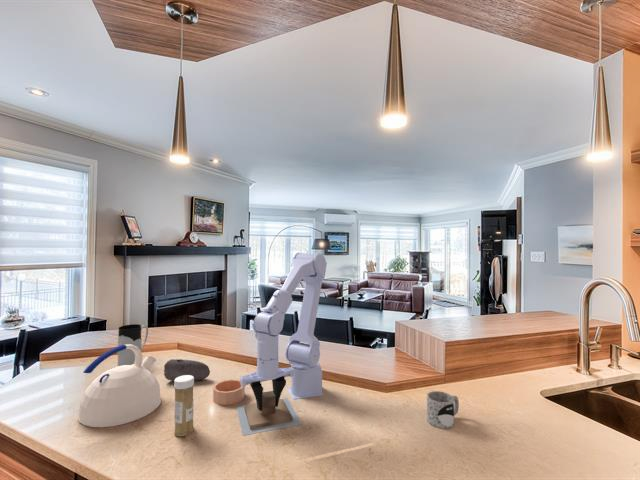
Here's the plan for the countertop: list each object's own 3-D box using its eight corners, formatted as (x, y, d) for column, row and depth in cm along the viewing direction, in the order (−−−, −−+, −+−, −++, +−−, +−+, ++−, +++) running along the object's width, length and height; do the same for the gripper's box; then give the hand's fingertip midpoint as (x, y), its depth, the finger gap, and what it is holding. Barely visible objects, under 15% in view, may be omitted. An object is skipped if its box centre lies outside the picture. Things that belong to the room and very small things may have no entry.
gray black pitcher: (110, 369, 122) (110, 329, 122) (137, 356, 136) (138, 320, 136) (131, 371, 121) (131, 330, 121) (156, 357, 135) (157, 321, 135)
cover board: (282, 402, 96) (282, 383, 96) (292, 421, 86) (292, 400, 86) (244, 408, 92) (244, 389, 92) (250, 429, 82) (250, 407, 82)
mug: (441, 431, 82) (441, 405, 82) (421, 419, 88) (421, 394, 88) (468, 421, 87) (468, 396, 87) (448, 410, 93) (448, 386, 93)
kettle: (177, 399, 99) (178, 339, 99) (108, 436, 80) (109, 362, 80) (132, 387, 107) (133, 331, 108) (60, 417, 89) (61, 350, 89)
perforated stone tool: (212, 377, 115) (212, 357, 115) (207, 383, 110) (207, 362, 110) (169, 377, 115) (169, 357, 115) (162, 383, 110) (162, 362, 110)
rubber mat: (287, 399, 99) (287, 398, 99) (302, 425, 85) (302, 423, 85) (236, 408, 94) (236, 406, 94) (242, 437, 79) (242, 435, 79)
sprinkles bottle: (195, 433, 81) (195, 379, 81) (175, 439, 79) (176, 383, 79) (191, 425, 85) (191, 372, 85) (172, 430, 82) (172, 376, 83)
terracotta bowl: (242, 390, 105) (242, 377, 105) (246, 403, 96) (246, 389, 96) (212, 394, 102) (212, 382, 102) (213, 408, 93) (213, 394, 93)
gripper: (287, 348, 96) (286, 395, 96) (237, 356, 89) (237, 406, 89) (296, 356, 90) (296, 405, 90) (244, 365, 83) (244, 418, 83)
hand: (267, 407), depth 89 cm, fingers closed on cover board, 4 cm apart
